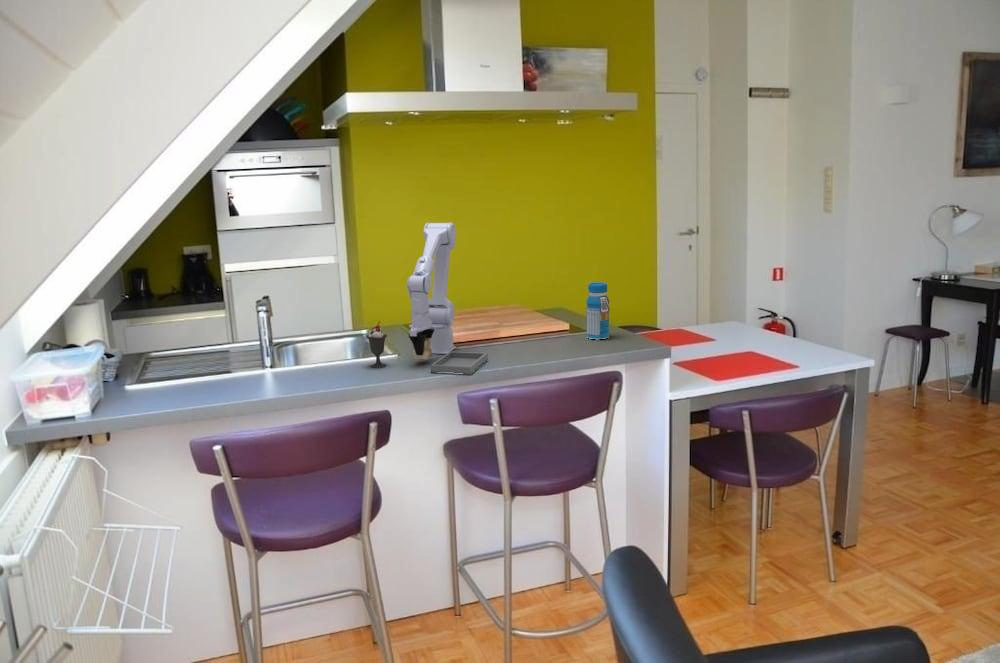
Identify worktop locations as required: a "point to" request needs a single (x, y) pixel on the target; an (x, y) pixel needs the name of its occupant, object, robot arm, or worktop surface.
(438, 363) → the tray
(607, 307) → the beverage bottle
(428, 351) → the block
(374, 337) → the sundae
